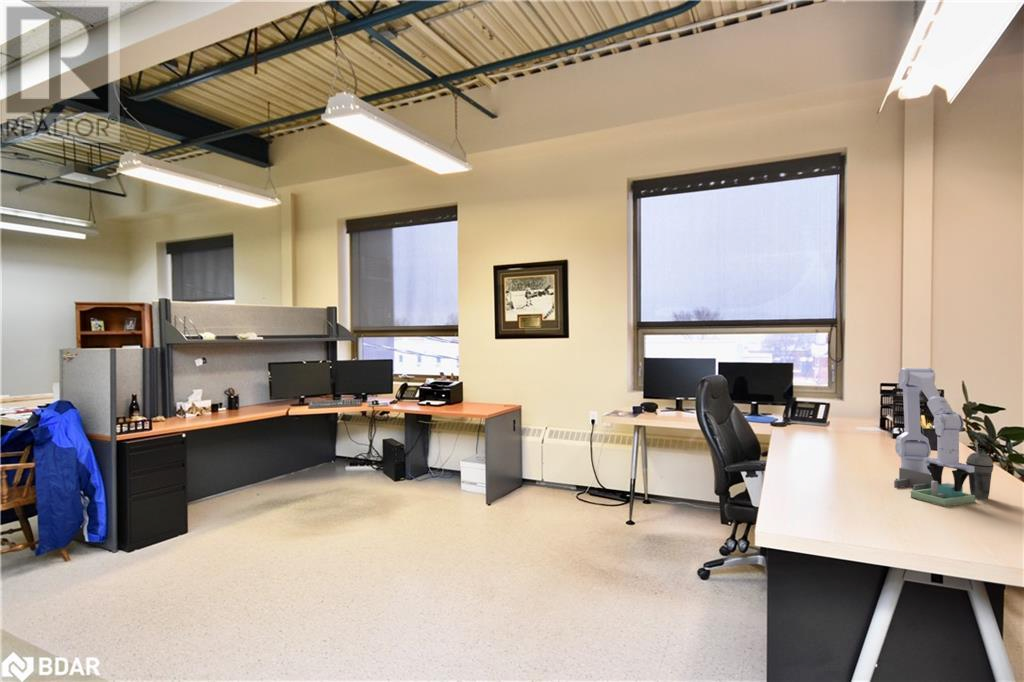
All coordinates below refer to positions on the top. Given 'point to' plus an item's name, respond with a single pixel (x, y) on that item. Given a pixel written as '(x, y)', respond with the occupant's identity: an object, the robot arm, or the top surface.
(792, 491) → the top surface
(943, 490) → the cyan and grey piece
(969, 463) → the beverage cup
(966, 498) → the tray
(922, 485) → the rack
